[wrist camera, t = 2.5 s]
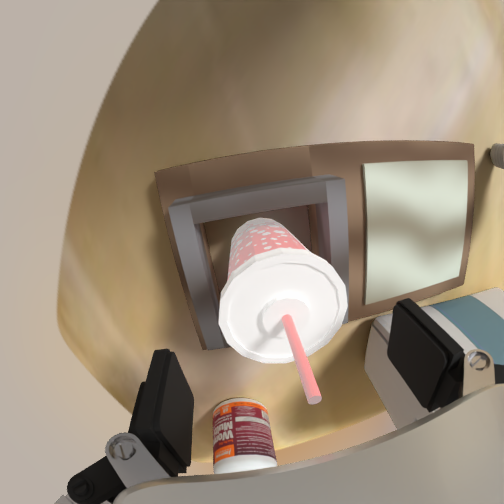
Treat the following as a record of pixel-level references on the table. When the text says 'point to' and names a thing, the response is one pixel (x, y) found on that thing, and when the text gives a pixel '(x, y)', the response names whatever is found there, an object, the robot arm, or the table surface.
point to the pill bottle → (242, 437)
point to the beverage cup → (280, 299)
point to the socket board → (333, 217)
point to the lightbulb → (497, 155)
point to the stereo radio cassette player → (457, 326)
